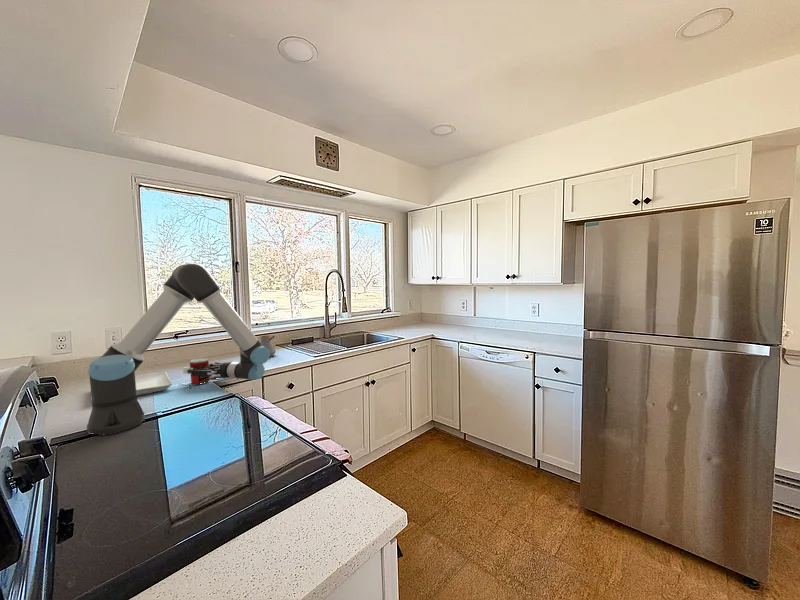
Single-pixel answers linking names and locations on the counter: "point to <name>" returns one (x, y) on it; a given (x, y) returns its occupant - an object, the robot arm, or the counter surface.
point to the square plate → (151, 383)
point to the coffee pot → (268, 344)
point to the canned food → (199, 364)
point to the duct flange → (215, 376)
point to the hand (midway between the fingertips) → (191, 368)
